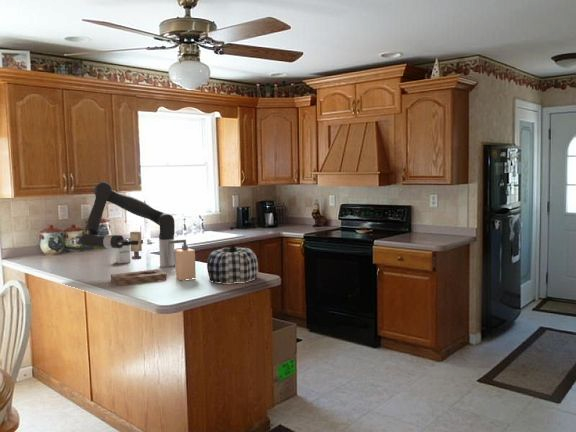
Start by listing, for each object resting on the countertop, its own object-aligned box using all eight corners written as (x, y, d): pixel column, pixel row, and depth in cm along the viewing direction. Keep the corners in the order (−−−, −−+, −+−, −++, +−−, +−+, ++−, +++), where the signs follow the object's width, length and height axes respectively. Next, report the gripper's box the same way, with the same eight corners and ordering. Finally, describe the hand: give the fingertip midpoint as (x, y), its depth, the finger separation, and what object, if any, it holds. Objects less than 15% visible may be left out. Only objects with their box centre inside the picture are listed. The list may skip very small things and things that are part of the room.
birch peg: (134, 257, 299) (133, 231, 298) (143, 258, 298) (142, 231, 297) (130, 259, 294) (129, 232, 293) (138, 259, 293) (137, 232, 292)
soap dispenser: (190, 276, 295) (189, 238, 293) (195, 279, 288) (194, 239, 286) (168, 279, 289) (167, 239, 287) (173, 281, 282) (172, 241, 280)
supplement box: (119, 263, 340) (118, 244, 339) (115, 262, 346) (115, 243, 345) (130, 262, 344) (129, 243, 343) (126, 261, 350) (126, 242, 349)
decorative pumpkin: (222, 287, 266) (221, 249, 264) (196, 278, 289) (195, 243, 288) (269, 280, 283) (269, 243, 281) (242, 272, 307) (241, 238, 305)
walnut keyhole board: (157, 275, 300) (157, 269, 300) (166, 279, 287) (166, 273, 287) (111, 280, 287) (110, 274, 286) (118, 285, 273) (118, 279, 273)
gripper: (106, 236, 292) (133, 237, 287) (120, 233, 305) (146, 234, 301) (106, 250, 292) (134, 250, 288) (120, 246, 306) (147, 247, 302)
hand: (140, 242), depth 295 cm, fingers closed on birch peg, 4 cm apart
